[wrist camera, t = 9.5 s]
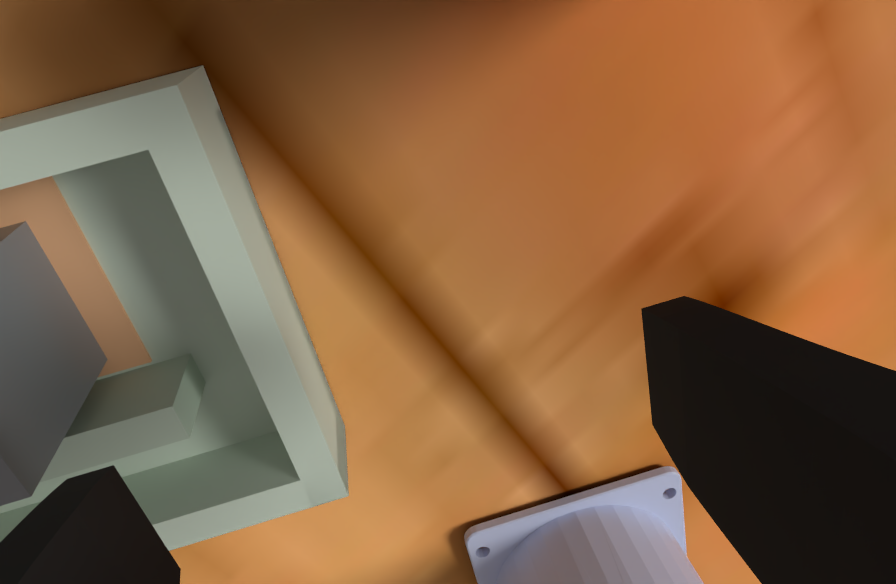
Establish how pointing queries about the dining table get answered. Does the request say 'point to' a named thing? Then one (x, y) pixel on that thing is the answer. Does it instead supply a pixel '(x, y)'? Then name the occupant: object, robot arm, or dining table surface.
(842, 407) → the robot arm
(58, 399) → the grey block with knob
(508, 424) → the dining table surface
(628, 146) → the dining table surface
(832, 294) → the dining table surface
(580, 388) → the dining table surface
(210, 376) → the grey-green rectangular frame
